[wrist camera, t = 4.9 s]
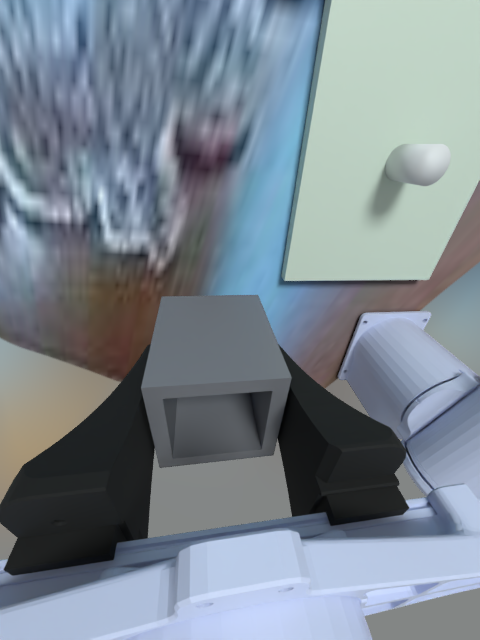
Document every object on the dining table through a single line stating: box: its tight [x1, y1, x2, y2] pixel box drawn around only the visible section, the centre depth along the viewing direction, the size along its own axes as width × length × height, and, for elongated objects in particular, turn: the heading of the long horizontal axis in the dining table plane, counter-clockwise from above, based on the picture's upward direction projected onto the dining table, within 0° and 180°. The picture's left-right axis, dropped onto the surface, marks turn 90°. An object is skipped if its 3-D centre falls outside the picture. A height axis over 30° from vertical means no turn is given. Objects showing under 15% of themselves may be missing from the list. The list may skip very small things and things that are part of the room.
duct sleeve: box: [141, 295, 292, 468], centre depth 12 cm, size 5×5×6 cm
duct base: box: [281, 0, 480, 281], centre depth 17 cm, size 18×14×4 cm
